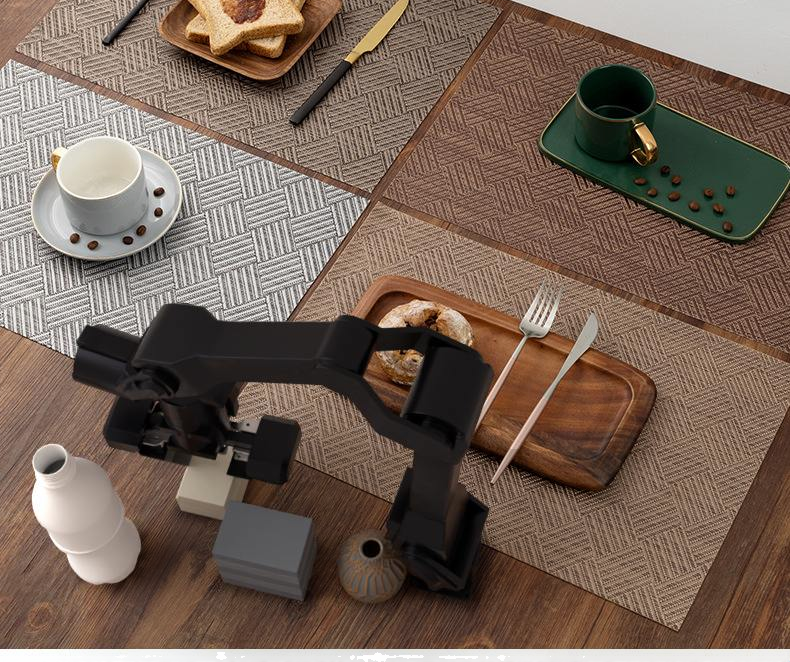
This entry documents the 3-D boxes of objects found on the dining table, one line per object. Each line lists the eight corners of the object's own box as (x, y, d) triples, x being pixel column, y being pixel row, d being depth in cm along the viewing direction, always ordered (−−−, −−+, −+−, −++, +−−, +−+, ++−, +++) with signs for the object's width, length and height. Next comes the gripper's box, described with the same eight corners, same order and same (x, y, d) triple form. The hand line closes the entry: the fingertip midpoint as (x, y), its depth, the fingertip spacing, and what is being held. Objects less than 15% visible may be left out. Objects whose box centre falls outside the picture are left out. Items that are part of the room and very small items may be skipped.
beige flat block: (225, 510, 116) (224, 506, 115) (179, 500, 117) (177, 495, 116) (248, 440, 121) (247, 435, 120) (204, 430, 121) (202, 425, 120)
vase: (378, 625, 114) (377, 598, 106) (325, 583, 116) (320, 555, 109) (419, 571, 117) (421, 541, 109) (366, 531, 119) (365, 500, 112)
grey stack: (317, 549, 118) (312, 518, 110) (303, 601, 115) (297, 572, 107) (239, 531, 119) (229, 499, 112) (223, 582, 116) (211, 552, 108)
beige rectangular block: (256, 458, 124) (252, 444, 121) (235, 523, 119) (230, 510, 116) (203, 446, 124) (198, 432, 121) (180, 510, 120) (175, 497, 117)
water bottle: (132, 598, 115) (74, 507, 94) (65, 584, 116) (-7, 490, 95) (154, 531, 119) (104, 429, 98) (89, 518, 120) (26, 414, 99)
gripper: (312, 346, 108) (321, 417, 121) (128, 308, 111) (155, 382, 124) (279, 452, 102) (292, 515, 115) (85, 409, 105) (118, 475, 118)
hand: (214, 467), depth 118 cm, fingers closed on beige flat block, 5 cm apart
